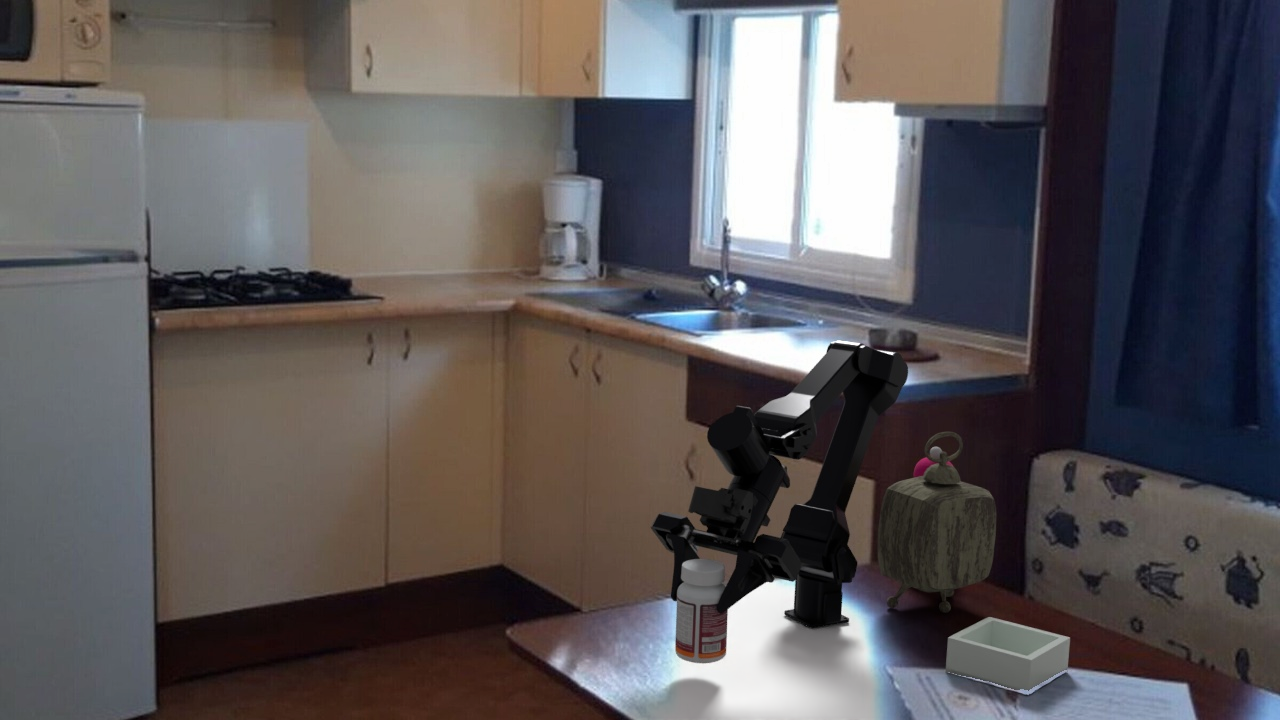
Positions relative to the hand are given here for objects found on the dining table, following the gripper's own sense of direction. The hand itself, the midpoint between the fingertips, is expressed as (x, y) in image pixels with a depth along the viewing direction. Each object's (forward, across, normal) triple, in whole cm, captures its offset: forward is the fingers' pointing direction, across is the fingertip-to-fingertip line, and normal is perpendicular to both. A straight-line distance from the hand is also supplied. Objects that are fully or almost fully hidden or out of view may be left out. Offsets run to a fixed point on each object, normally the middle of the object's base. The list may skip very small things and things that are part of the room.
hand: (695, 605), depth 186 cm
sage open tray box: (-13, +28, +27) cm, 41 cm away
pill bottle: (+4, 0, +6) cm, 7 cm away
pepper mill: (-33, +3, +47) cm, 58 cm away
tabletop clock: (-24, +10, +39) cm, 47 cm away
